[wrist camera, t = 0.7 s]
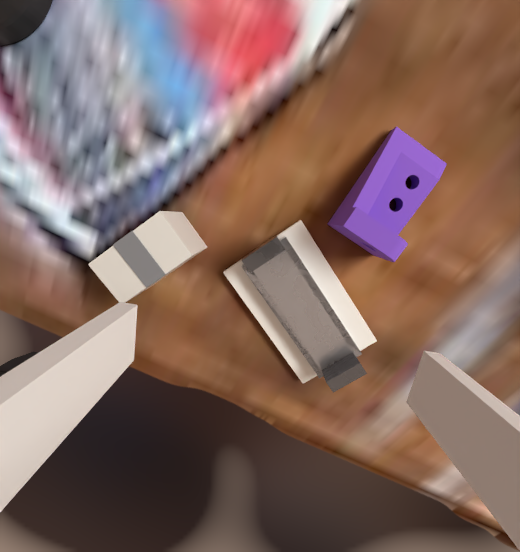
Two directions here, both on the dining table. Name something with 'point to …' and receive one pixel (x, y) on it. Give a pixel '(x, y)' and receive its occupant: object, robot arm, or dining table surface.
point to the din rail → (304, 311)
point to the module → (147, 254)
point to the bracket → (388, 195)
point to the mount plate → (326, 284)
